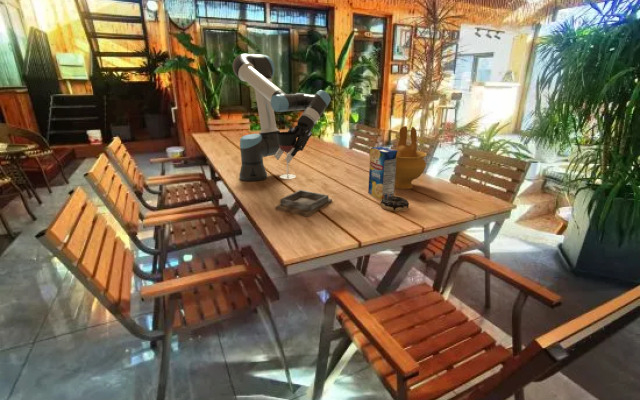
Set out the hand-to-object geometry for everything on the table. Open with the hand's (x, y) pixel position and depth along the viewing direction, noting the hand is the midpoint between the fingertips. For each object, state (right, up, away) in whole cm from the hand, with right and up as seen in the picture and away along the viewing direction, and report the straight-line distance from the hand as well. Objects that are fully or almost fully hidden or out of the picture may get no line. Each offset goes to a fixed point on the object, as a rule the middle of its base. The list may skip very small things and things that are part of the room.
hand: (281, 159), depth 148 cm
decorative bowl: (+60, -11, +22) cm, 65 cm away
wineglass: (+2, -7, +5) cm, 9 cm away
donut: (+49, -22, -7) cm, 54 cm away
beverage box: (+46, -16, +8) cm, 49 cm away
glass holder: (+11, -20, -4) cm, 24 cm away
